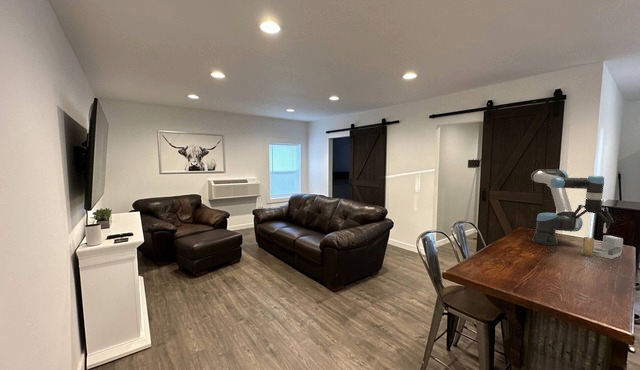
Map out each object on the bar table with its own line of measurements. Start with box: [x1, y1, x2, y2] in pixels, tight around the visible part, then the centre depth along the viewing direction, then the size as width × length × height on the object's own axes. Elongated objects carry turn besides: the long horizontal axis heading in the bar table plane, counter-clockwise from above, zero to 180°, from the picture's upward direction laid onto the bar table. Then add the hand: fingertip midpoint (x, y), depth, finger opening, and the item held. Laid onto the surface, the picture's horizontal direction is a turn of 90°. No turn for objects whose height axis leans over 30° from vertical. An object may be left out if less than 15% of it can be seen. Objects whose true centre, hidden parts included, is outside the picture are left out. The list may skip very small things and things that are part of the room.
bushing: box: [581, 236, 595, 258], centre depth 176 cm, size 5×5×12 cm
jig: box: [580, 245, 622, 260], centre depth 180 cm, size 15×15×6 cm
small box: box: [601, 235, 624, 254], centre depth 185 cm, size 8×6×10 cm
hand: (590, 230), depth 175 cm, fingers open, 13 cm apart
